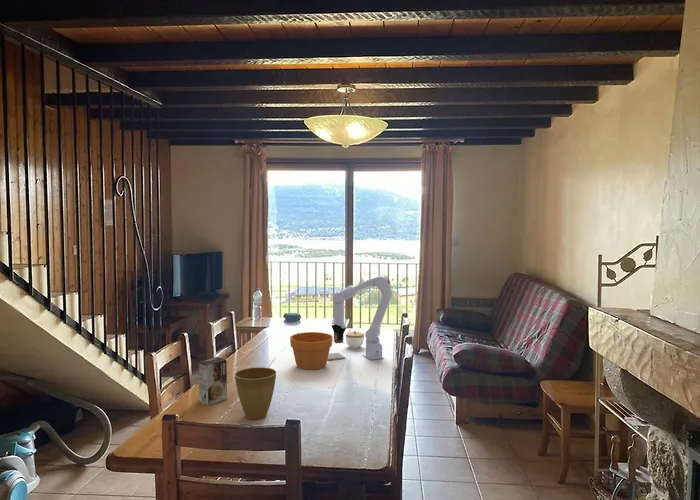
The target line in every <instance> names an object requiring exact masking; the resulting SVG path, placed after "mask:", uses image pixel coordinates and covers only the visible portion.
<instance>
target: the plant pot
mask: <svg viewBox="0 0 700 500" xmlns="http://www.w3.org/2000/svg"><path fill="white" fill-rule="evenodd" d="M234 379H235V385H236V389H237V395H238V399H239V402H240V405H241V407H242V410H243V412H244V416H245V418H246V419H248V420H261V419H263V418H266V417H267V414H268V412H269V409H270V406H271V402H272V399H273V395H274V391H275V386H276V379H277V370H275V369H274V368H271V367H270V368H269V367H259V366H258V367H257V366H256V367H248V368H244V369H243V368H242V369H240V370H238V371H236V372H235V373H234Z"/></svg>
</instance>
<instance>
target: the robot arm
mask: <svg viewBox="0 0 700 500" xmlns="http://www.w3.org/2000/svg"><path fill="white" fill-rule="evenodd" d="M369 287H373V288H375V287H376V288H377V289H378V290H379V292H380V294H381V297H380V301H379V302H378V305H377V308H376V312H375V314H374V316H373V319H372V322H371V324H370V326H369V327H368V330H366V331H365V333H364V338H365V353H364V354H362V356H363V357H364V358H367V359H368V360H371V361H372V360H378V359H379V360H380V359H381V360H382V359H384V357H383V346H382V344H381V342H380V338H379V336H380V334H381V325H382V322H383V320H384V317H385V315H386V312H387V310H388V306H389V303H390V301H391V299H392V296H393V290H392V286H391V280H390V279H389V277H388V276H387V275H386V274H380V275H378V276H375V277H371V278H369V279H367V280H365V281H362V282H360V283H359V284H357V285H355V286H354V285H348V286H346V287H345V288H344V289H340V290H339V291H337V292H335V293H333V295H332V301H333V318H332V320H331V328H332V330H333V334H334V333H336V332H337V336H338V340H342V338H343V339H344V335H345V332H346V330H347V326H346V324H345V301H347V300H348V299H351V298H353V297H354V296H357V295H358V292H359V291H361V290H364V289H366V288H369Z"/></svg>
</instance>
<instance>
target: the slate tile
mask: <svg viewBox="0 0 700 500" xmlns="http://www.w3.org/2000/svg"><path fill="white" fill-rule="evenodd" d="M336 360H346V356H345V355H342V354H341V353H340V352H331V353H330V352H329V355H328V359H327V361H336Z"/></svg>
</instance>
